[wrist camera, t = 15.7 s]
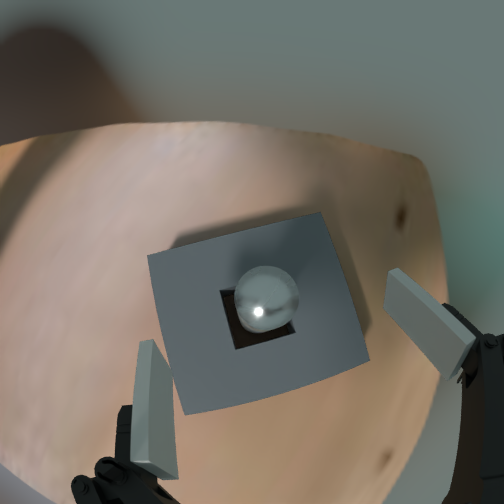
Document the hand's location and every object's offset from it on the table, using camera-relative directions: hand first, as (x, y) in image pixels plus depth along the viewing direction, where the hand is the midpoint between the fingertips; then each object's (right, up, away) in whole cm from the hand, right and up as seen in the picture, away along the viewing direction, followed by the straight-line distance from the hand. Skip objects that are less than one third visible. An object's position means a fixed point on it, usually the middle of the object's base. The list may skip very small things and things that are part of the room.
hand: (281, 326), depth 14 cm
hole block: (-1, -2, +11) cm, 11 cm away
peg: (-1, -2, +11) cm, 11 cm away
